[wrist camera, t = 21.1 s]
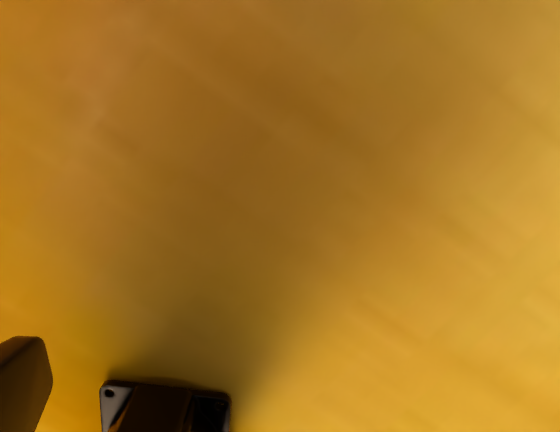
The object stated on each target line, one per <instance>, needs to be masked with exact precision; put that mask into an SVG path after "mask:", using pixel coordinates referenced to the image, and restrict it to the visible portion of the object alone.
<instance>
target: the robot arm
mask: <svg viewBox="0 0 560 432" xmlns="http://www.w3.org/2000/svg"><path fill="white" fill-rule="evenodd" d="M52 384H53V376H52V371H51V367H50V363H49V359H48V355H47V351H46V347H45V344H44V341H43V340H42V339H41V338H39V337H36V336H15V337H12V338H10V339H8V340H6V341H4V342H2V343H0V432H35V429H36V427H37V424H38V422H39V419H40V417H41V415H42V412H43V410H44V407H45V405H46V403H47V400H48V398H49V395H50V393H51V389H52ZM108 389H110V390H112V391H113V392H112V391H110V390H108ZM99 394H100V409H101V423H102V432H230V421H231V406H232V400H231V398H230V396H229V395H227V394H225V393H220V392H211V391H203V390H194V389H186V388H177V387H169V386H160V385H152V384H143V383H135V382H126V381H118V380H107V381H105V382H104V383H103V385H102V386H101V388H100V391H99ZM220 402H221V403H223V405H221V404H219V403H220Z"/></svg>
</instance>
